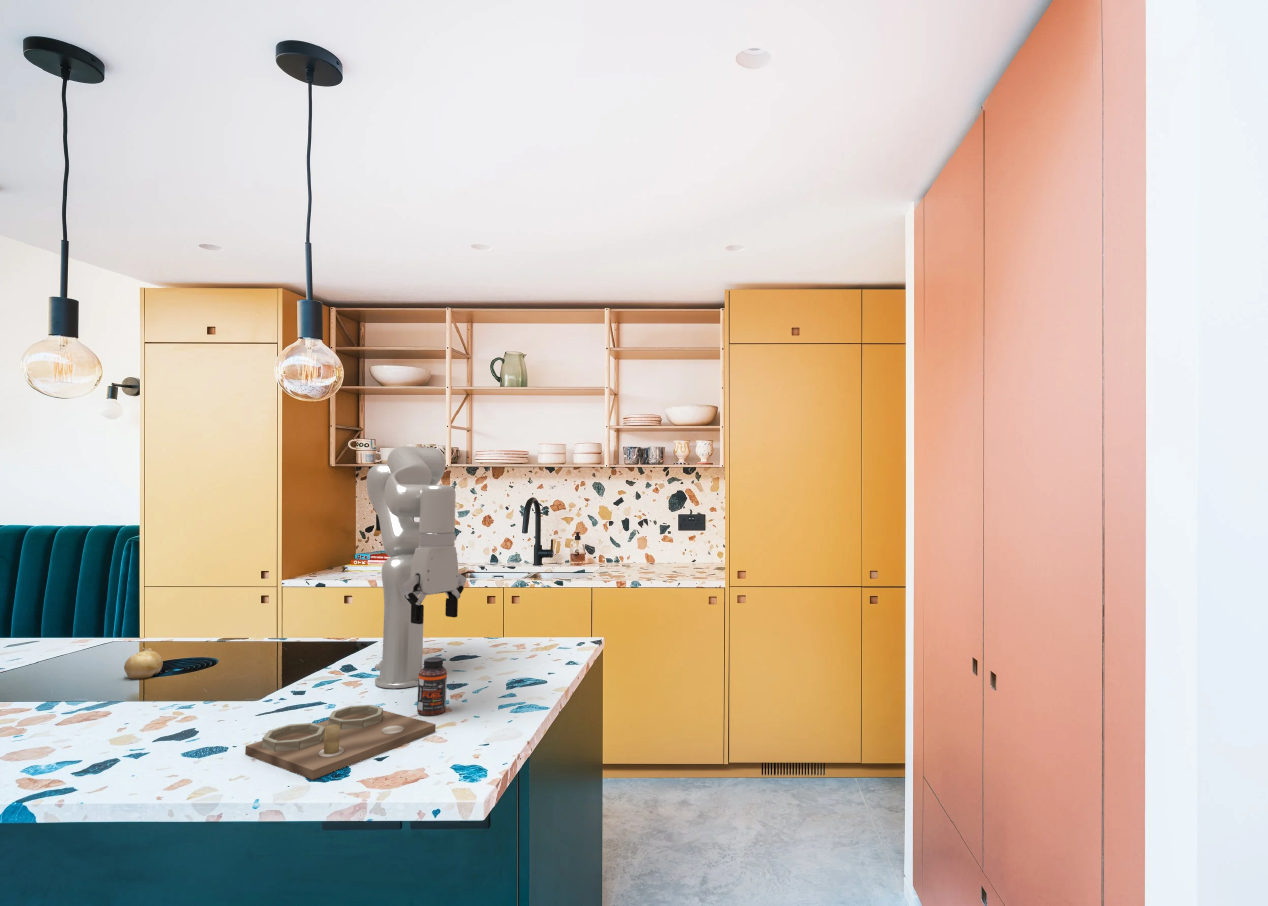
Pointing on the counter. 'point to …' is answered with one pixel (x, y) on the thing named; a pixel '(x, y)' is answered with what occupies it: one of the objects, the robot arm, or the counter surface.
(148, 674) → the onion
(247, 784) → the counter surface
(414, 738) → the board
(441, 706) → the supplement bottle
